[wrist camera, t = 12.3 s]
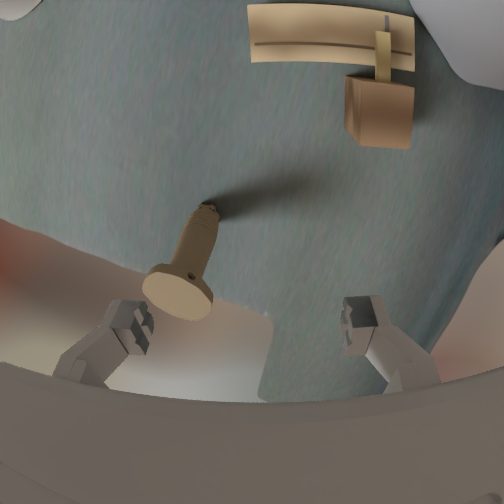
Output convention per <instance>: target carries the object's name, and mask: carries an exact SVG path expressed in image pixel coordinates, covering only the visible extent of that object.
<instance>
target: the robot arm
mask: <svg viewBox="0 0 504 504" xmlns="http://www.w3.org/2000/svg"><path fill="white" fill-rule="evenodd" d="M41 1H42V0H0V19H3V20H6V21H13V20H17V19H19V18H21V17H23V16H25V15H26V14H28V13H29V12H30V11H32V10H33V9H34V8H35V7H36V6H37V5H38V4H39V3H40V2H41ZM147 308H148V306H147V304H146V302H144V301H131V300H113V301H112V302H111V303H110V305H109V308H108V310H107V312H106V314H105V316H104V318H103V320H102V322H101V324H100V327H96V328H95V329H94V330H92V331H91V332H90V333H89V334H87V335H86V336H85V337H84V338H82V339H81V340H80V341H78V342H77V343H76V344H74V345H73V346H72V347H71V348H70V349H68V350H67V351H66V352H65V353H63V354H62V355H61V357H60V359H59V361H58V364H57V366H56V368H55V370H54V372H53V375H52V376H49V375H45V374H41V373H38V372H35V371H31V370H28V369H25V368H22V367H18V366H15V365H12V364H10V363H6V362H3V361H2V362H0V504H504V366H503V367H499V368H496V369H493V370H490V371H486V372H483V373H480V374H476V375H473V376H469V377H465V378H461V379H457V380H453V381H449V382H445V383H441V380H440V377H439V373H438V370H437V367H436V364H435V361H434V358H433V357H432V356H431V355H429V354H428V353H427V352H426V351H425V350H424V349H423V348H421V347H420V346H419V345H418V344H417V343H415V342H414V341H413V340H412V339H411V338H410V337H408V336H407V335H406V334H405V333H404V332H403V331H401V330H400V329H399V328H398V327H397V326H395V325H391V322H390V319H389V316H388V313H387V310H386V307H385V304H384V301H383V298H382V296H381V295H369V296H355V297H345V298H344V300H343V308H344V310H343V311H342V312H341V317H340V326H341V333H342V335H343V336H344V341H343V345H344V351H345V356H356V355H365V356H366V357H367V358H368V359H369V361H370V362H371V363H372V364H373V365H374V366H375V368H376V369H377V370H378V371H379V372H380V373H381V375H382V376H383V377H384V378H385V379H386V380H387V382H388V383H389V384H388V386H387V387H386V389H385V391H384V392H383V394H380V395H372V396H364V397H356V398H346V399H335V400H323V401H306V402H278V403H244V402H216V401H200V400H187V399H176V398H167V397H158V396H150V395H143V394H136V393H129V392H123V391H117V390H111V389H109V387H108V386H107V385H106V384H105V383H104V381H105V380H106V379H107V378H108V377H109V376H110V375H111V373H113V372H114V370H115V369H116V368H117V367H118V366H119V365H120V364H121V363H122V362H123V361H124V360H125V359H126V358H127V356H128V354H131V355H146V352H147V349H148V346H149V342H148V338H149V337H150V336H151V335H152V333H153V329H154V321H153V317H152V315H151V314H150V313H149V312H147Z"/></svg>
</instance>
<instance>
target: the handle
mask: <svg viewBox="0 0 504 504" xmlns="http://www.w3.org/2000/svg"><path fill="white" fill-rule="evenodd" d="M219 219H220V215H219V214H218V213H217V212H216V207H215V206H214V205H212V204H211V205H205V204H200V205H199V206H198V207H197V209H196V210H195V211H194V212H193V213H192V214H191V216H190V217H189V218H188V220H187V221H186V223H185V225H184V227H183V229H182V231H181V234H180V236H179V239H178V242H177V245H176V248H175V251H174V254H173V257H172V260H171V263H170V264H158V265H156V266H154V267H153V268H152V269H151V270H150V271H149V272H148V274H147V276H146V278H145V280H144V283H143V286H142V288H143V293H144V294H145V295H146V296H147V297H148V299H150V301H151V302H152V303H153V304H154V305H156V306H157V307H158V308H160V309H162V310H164V311H165V312H167V313H169V314H171V315H173V316H175V317H179V318H183V319H187V320H192V321H195V320H200V319H202V318H204V317H205V316H206V315H207V314H208V313H209V312H210V310H211V307H212V303H213V293H212V291H211V290H210V288H209V287H208V286H207V284H206V283H205V282H204V281H203V279H202V276H203V273H204V270H205V268H206V265H207V262H208V260H209V257H210V255H211V252H212V250H213V247H214V245H215V241H216V238H217V233H218V222H219Z"/></svg>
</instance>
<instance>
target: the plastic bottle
mask: <svg viewBox="0 0 504 504" xmlns="http://www.w3.org/2000/svg"><path fill="white" fill-rule="evenodd" d="M409 1H410V4H411V6H412V8H413V10H414V12H415V13H416V15H417V16H418V17H419V19H420V20H421V21H422V23H423V24H424V26H425V27H426V29H427V30H428V32H429V33H430V34H431V36H432V37H433V39H434V41H435V42H436V44H437V45H438V47H439V48H440V50H441V52H442V53H443V55H444V57H445V58H446V60H447V62H448V63H449V65H450V67H451V68H452V69H453V71H454V72H455V73H456V74H457V75H458V76H459V77H460V78H462V79H463V80H464V81H466V82H468V83H470V84H474V85H479V86H484V87H489V88H494V89H499V90H503V91H504V0H409Z"/></svg>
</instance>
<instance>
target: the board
mask: <svg viewBox="0 0 504 504" xmlns="http://www.w3.org/2000/svg"><path fill="white" fill-rule="evenodd" d="M247 8H248V21H249V34H250V48H251V61H252V62H269V61H318V62H338V63H352V64H362V65H372V66H375V32H374V31H382V32H389V33H390V38H391V68H394V69H401V70H407V71H412V72H415V30H414V18H413V17H408V16H404V15H399V14H394V13H389V12H383V11H377V10H371V9H364V8H356V7H347V6H337V5H323V4H295V3H283V4H255V5H247Z"/></svg>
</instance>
